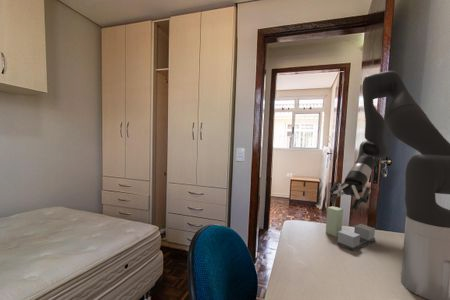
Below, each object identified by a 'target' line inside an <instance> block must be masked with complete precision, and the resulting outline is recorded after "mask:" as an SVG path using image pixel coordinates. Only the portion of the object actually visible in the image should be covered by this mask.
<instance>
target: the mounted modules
mask: <svg viewBox="0 0 450 300" xmlns="http://www.w3.org/2000/svg"><path fill="white" fill-rule="evenodd" d="M375 232H376V228H375V227H371V226H369V225H366V224H363V223H359V224H357V225H354V231H352V230H348V229H342V231H339V232H338V236H337V241H338V242H340V243H342V244H345V245H347V246H349V247H352V248H353V247H356V246H358V245H359V242H360V237H361V238H364V239H366V240H371V239H373V238H375V234H376V233H375Z"/></svg>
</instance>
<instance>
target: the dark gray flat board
mask: <svg viewBox="0 0 450 300" xmlns="http://www.w3.org/2000/svg"><path fill="white" fill-rule="evenodd" d="M375 241H376V238H375V237H374V238H373V239H371V240H366V239H364V238H361V237H360V242H359V245H358V246H356V247H353V248H352V247H349V246H347V245H345V244H342V243H340V242H338V240H337V241H336V245H338V246H340V247H342V248H344V249H348V250H350V251H352V252H355V251H357V250H359V249H361V248H363V247H364V246H365V247H366V246H367V245H369V244H371V243H373V242H375Z"/></svg>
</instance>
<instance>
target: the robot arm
mask: <svg viewBox="0 0 450 300" xmlns="http://www.w3.org/2000/svg"><path fill="white" fill-rule="evenodd" d="M388 97H391V98H392V99H391V101H390V103H389V105H388V106H387V108H386V110H385V112H384V117H383V116H382V114H381V113H380V112H379V111H378V110H377V108H376V106H375V104H374V100H376V99H383V98H388ZM362 101H363V111H364V121H365V122H364V123H365V125H364V139H365V140H364V141H362V142H360V145H359V148H358V149H359V150H358V154H357V155H358V156H357V159H356V161H355V163H353V165H352V166H351V168H350V170H349V171H348V173H347V174H346V177H345V178H344V181H343V183H339V181H335V182H334V183H333V185H332V186H331V188H330V189H329V192H330V194H331V197H330V199H329V202H330V203H331V204H332V205H334V204H335V202H336V201H337V200H338V197H340V196H345V195H347V196H351V197H355V199H354V201H353V202H352V205H351V208H352V210H354V211H356V210H357V209H358V208H359V207H360V205H361V204H362V203H365V204H367V203H368V201H369V198H370V196H371V194H372V190H371V188H370V186H367V187H365V186H366V184H367V183H368V181H369V179H370V176H371V174H372V171H373V169H374V168H375V165H376V163H377V162H376V160H375V159H379V160H380V159H383V158H384V157H386V155H387V153H388V146H387V142H386V139H385V131H386V125H387V127H388V129H389V130H390V133H391V134H392V135H393V136H394V137H395V138H396V139H397V140H399V141H400V142H402V143H404V144H406V145H407V146H408V147H410V148H412V149H413V150H415V151H417V152H419V153H420V154H415V155H413V156H412V157H410V159H408V162H407V165H406V168H405V176H404V177H405V181H404V183H405V188H404V190H405V191H404V193H405V194H404V202H405V204H404V205H405V209H406V210H405V211H406V214H405V228H404V237H403V250H402V261H401V262H402V263H401V272H400V282H401V284H402V286H403V287H404V288H406V289H407V290H408V291H409V292H412V293H413V294H415V295H417V296H419V297H421V298H424V299H426V300H450V209H448V208H445V207H443V206H441V205H440V204H438V202H437V199H436V194H438V195H439V194H441V195H450V142H449V141H448V140H447V139H446V138H445V137H444V136H443V134H442V133H441V132H440V131H439V130H438V129H437V127H436V126H435V125H434V124H433V123H432V121H431V120H430V119H429V117H428V115H427V114H426V113H425V111H424V110H423V109H422V107H421V106H420V105H419V104H418V103H417V102H416V101H415V99H414V98H413V97H412V95H411V94H410V93H409V91H408V89H407V87H406V85H405V83H404V81H403V79H402V77H401V76H400V74H399V73H398V72H397V71H395V70H386V71H381V72H377V73H371V74H368V75H366V76H364V78H363V81H362ZM361 193H363V195H362V197H361V196H360V195H359V194H361Z"/></svg>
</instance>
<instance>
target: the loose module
mask: <svg viewBox="0 0 450 300" xmlns="http://www.w3.org/2000/svg"><path fill="white" fill-rule="evenodd" d="M343 216H344V208H341V207H337V206H334V205H333V206H328V207H327V208H326V223H325V224H326V225H325V233H326V234H328V235H330V236H331V235H332V236H333V237H334V238H335V237H338V232H339V231H342V230H343V229H342V228H343Z"/></svg>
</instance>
